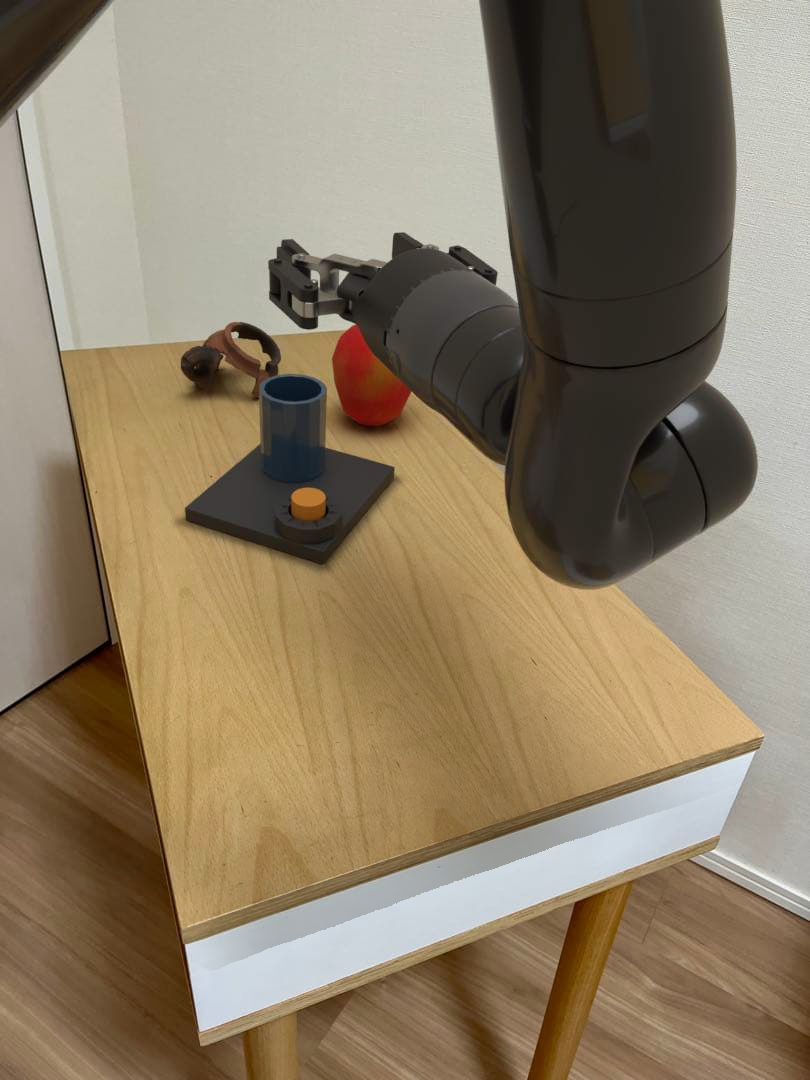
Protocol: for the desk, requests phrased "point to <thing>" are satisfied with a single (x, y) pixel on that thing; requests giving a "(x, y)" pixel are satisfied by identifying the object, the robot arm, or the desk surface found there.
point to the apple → (366, 382)
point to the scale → (265, 504)
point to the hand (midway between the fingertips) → (342, 249)
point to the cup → (293, 427)
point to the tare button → (308, 504)
